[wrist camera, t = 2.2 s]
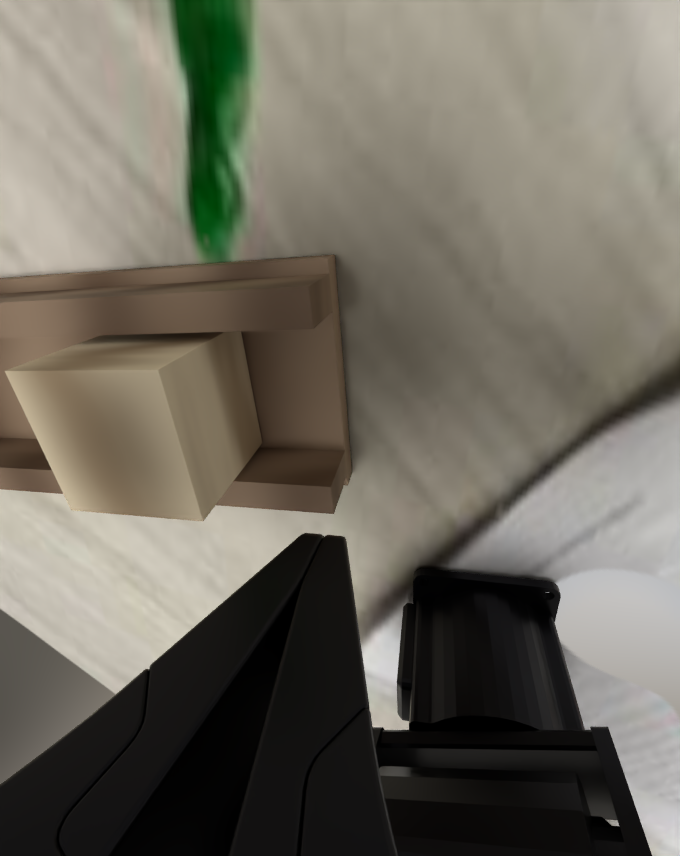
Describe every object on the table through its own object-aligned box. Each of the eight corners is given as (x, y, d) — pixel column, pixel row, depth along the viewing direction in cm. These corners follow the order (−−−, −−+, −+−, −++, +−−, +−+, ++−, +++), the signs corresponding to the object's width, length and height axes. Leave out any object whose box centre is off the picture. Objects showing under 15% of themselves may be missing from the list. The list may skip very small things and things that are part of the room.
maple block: (239, 323, 15) (158, 369, 11) (262, 442, 17) (203, 521, 13) (121, 327, 16) (4, 370, 12) (158, 439, 18) (71, 510, 14)
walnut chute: (334, 254, 14) (275, 280, 9) (351, 472, 18) (318, 576, 13) (-185, 291, 20) (-404, 319, 15) (-83, 450, 24) (-226, 516, 19)
